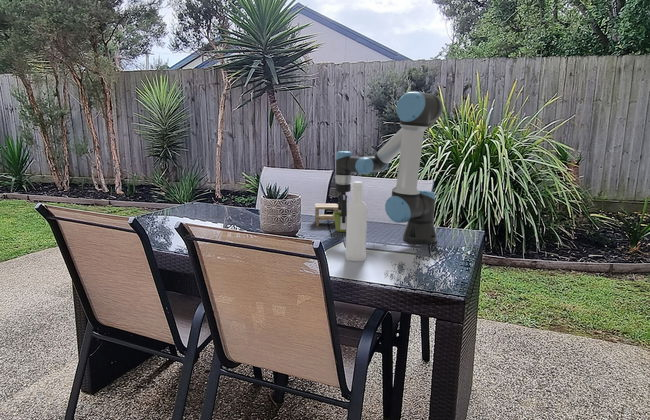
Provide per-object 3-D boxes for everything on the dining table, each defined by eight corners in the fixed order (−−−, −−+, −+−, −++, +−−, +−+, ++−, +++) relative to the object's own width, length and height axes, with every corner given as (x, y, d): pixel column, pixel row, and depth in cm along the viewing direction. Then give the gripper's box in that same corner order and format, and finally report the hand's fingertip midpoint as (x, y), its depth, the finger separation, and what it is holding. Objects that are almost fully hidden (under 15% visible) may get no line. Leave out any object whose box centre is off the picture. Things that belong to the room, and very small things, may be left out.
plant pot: (354, 230, 216) (355, 213, 214) (346, 234, 208) (346, 216, 206) (338, 227, 221) (338, 211, 219) (329, 231, 213) (329, 214, 211)
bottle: (346, 255, 172) (347, 180, 167) (366, 256, 172) (368, 181, 166) (344, 261, 165) (346, 183, 159) (365, 262, 164) (368, 183, 158)
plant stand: (338, 226, 224) (338, 207, 222) (315, 226, 223) (315, 207, 222) (336, 221, 236) (336, 203, 234) (314, 221, 235) (314, 203, 233)
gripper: (333, 179, 222) (332, 220, 226) (337, 187, 198) (336, 232, 202) (348, 179, 222) (346, 220, 226) (353, 187, 198) (352, 232, 202)
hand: (341, 226), depth 214 cm, fingers open, 13 cm apart
